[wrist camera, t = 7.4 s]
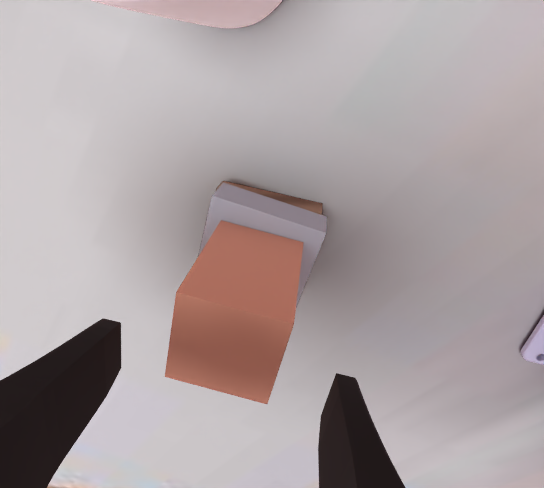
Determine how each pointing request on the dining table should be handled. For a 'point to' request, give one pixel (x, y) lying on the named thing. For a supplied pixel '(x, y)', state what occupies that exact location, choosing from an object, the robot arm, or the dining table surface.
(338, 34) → the dining table surface
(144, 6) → the can
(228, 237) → the brick block
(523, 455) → the dining table surface
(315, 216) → the tower upper
